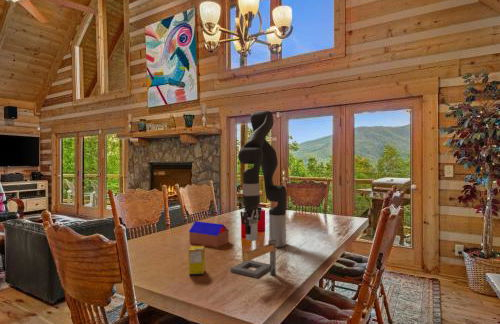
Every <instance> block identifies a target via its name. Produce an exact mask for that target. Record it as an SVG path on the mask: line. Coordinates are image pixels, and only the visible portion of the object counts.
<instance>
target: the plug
mask: <svg viewBox="0 0 500 324" xmlns="http://www.w3.org/2000/svg"><path fill="white" fill-rule="evenodd" d="M248 223H249V220H248ZM250 226H251V234H246V233H245V240H246V241H248V242H253V241H257V240H258V229H257V228H258V223H257V218H253V219H252V221H251V225H250Z"/></svg>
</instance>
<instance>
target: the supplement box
mask: <svg viewBox="0 0 500 324" xmlns="http://www.w3.org/2000/svg"><path fill="white" fill-rule="evenodd" d="M205 251H206V250H205V245H191V246H190V248H189V249H188V271H189V273H188V274H189V275H188V276H203V275H204V274H205V270H206V265H205V263H206V261H205V260H206V259H205V256H206V254H205Z"/></svg>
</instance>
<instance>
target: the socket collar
mask: <svg viewBox="0 0 500 324" xmlns="http://www.w3.org/2000/svg"><path fill="white" fill-rule="evenodd" d="M248 267H252V268H256V269H255V270H253V269H250V268H249V269H248ZM269 271H270V263H266V262H260V261H255V260H249V261H247V260H244V261H242V262H240V263H239V264H237V265H235V266H232V267H230V272H231V273H235V274H238V275H243V276H248V277H252V278H256V279H257V278H259V277H261V276H262V275H263V274H265V273H266V272H269Z"/></svg>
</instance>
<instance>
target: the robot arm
mask: <svg viewBox="0 0 500 324" xmlns="http://www.w3.org/2000/svg"><path fill="white" fill-rule="evenodd" d="M250 124H251V128H252V131H253V132H251V134H249V138H248V140H247V142H246V143H245V144H244V145H243V146H242V147H241V148H240V150H239V152H238V157H237V158H238V160H239V162H240V163H241V164H242V165H253V166H252V168H248V169H245V170H243V171H242V205H243V206H244V210H243V211H242V210H241V211H239V212H240V218H241V219H240V220H241V224H242V225H244V226H245V227H244V228H245V230H244V231H245V235H246V234H251V226H250V225H251V221H252V219H253V218H257V224H258V223H259V221H261V217H262V207H261V206H259V205H260V204H261V187H260V171H261V170H262V176H263V183H264V191H265V193H264V194H265V196H266V197H265V198H266V199H267V201H269V202H273V203H275V202H276V203H277V205H276V206H274V207H271V208H269V210H268V222H269V223H268V232H269V233H268V241H269V240H277V244H276V248H283V247H285V246H286V243H287V225H286V224H287V223H286V221H287V219H286V218H287V217H286V216H287V215H286V214H287V213H286V211H287V199H288V198H287V197H288V191H287V188H286V186H285V185H281V184H280V185H277V184H274V181H273V178H274V177H273V176H274V174H275V171H276V170H277V168H278V165H279V162H278V157H277V151H276V150H275V148H274V147H273V146H272V145H271V143H269V142H268V141H267V140H266V138H267V136H268V135H269V133H270V132H271V130H272V128H273V127H274V116H273V113H272V112H271V111H270V110H264V111H256V112H253V113H251V115H250ZM248 220H249V223H248ZM257 230H258V227H257Z"/></svg>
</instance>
